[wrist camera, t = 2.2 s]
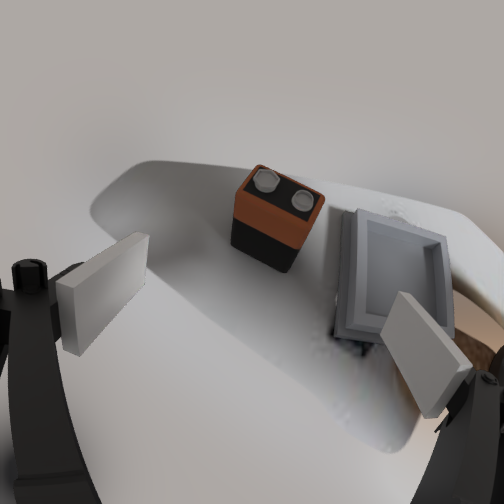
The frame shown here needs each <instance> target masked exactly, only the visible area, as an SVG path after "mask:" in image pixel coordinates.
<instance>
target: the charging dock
mask: <svg viewBox="0 0 504 504" xmlns="http://www.w3.org/2000/svg"><path fill="white" fill-rule="evenodd" d="M398 291H401V292H406V293H410V294H411V295H412V296H413V297H414V298H415V299H416V301H417V302H418V303H419V304H420V305H421V306H422V307H423V308H424V309H425V310H426V311H427V312H428V314H429V315H430V316H431V317H432V318H433V319H434V320H435V321H436V322H437V324H438V325H439V326H440V327H441V328H442V329H443V330H444V331H445V333H446V334H447V335H448V336H449V337H450V338H451V340H452V339H454V338H455V329H454V304H453V290H452V279H451V269H450V261H449V253H448V246H447V240H446V236H443V235H440V234H437V233H434V232H431V231H428V230H425V229H422V228H419V227H416V226H413V225H410V224H407V223H404V222H401V221H398V220H395V219H391V218H388V217H385V216H382V215H378V214H375V213H372V212H368V211H365V210H361V209H358V208H357V210H356V211H355V213H351V212H347V211H345V212H344V213H343V215H342V235H341V255H340V271H339V285H338V297H337V308H336V318H335V327H334V336H333V337H338V338H344V339H351V340H357V341H364V342H371V343H378V344H385V343H384V341H383V339H382V338H381V336H380V333H381V331H382V329H383V327H384V324H385V322H386V320H387V318H388V315H389V313H390V311H391V308H392V306H393V303H394V301H395V299H396V296H397V294H398Z"/></svg>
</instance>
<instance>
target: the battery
mask: <svg viewBox="0 0 504 504" xmlns="http://www.w3.org/2000/svg"><path fill="white" fill-rule="evenodd" d="M324 202H325V197H324V195H322V194H321V193H319V192H317V191H315V190H313V189H311V188H309V187H307V186H305V185H303V184H301V183H299V182H297V181H295V180H293V179H291V178H289V177H287V176H285V175H282V174H280V173H278V172H276V171H274V170H272V169H269V168H268V167H265V166H263V165H257V166H256V167H255V168H254V169H253V171H252V172H251V173H250V175H249V176H248V177H247V178H246V180H245V181H244V182H243V184H242V185H241V186H240V188H239V189H238V190H237V192H236V195H235V204H234V214H233V223H232V232H231V245H232V246H233V247H235V248H237V249H239V250H240V251H242V252H244V253H246V254H248V255H250V256H252V257H254V258H256V259H257V260H259V261H261V262H263V263H265V264H267V265H269V266H271V267H273V268H275V269H276V270H278V271H280V272H283V273H286V272H288V270H289V269H290V267H291V265H292V263H293V262H294V260H295V258H296V256H297V254H298V253H299V251H300V249H301V247H302V245H303V243H304V242H305V240H306V238H307V236H308V234H309V232H310V230H311V229H312V227H313V224H314V222H315V220H316V218H317V216H318V214H319V212H320V210H321V208H322V206H323V204H324Z"/></svg>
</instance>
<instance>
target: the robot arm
mask: <svg viewBox="0 0 504 504" xmlns="http://www.w3.org/2000/svg"><path fill="white" fill-rule="evenodd" d="M148 243H149V235H148V234H144V233H139V232H134V233H133V234H131V235H129V236H127V237H126V238H124V239H122V240H121V241H119V242H117V243H116V244H114V245H112V246H111V247H109V248H107V249H106V250H104V251H103V252H101V253H99V254H98V255H96V256H94V257H93V258H91V259H90V260H88V261H86V262H81V263H77V264H73V265H71V266H70V267H68V268H67V269H66V270H63V271H62V272H60V273H59V274H57V275H55V276H54V277H52V278H51V279H49V280H48V277H47V265H46V263H45V262H43V261H41V260H38V259H24V260H21V261H18V262H16V263H14V264H13V266H12V276H13V285H14V291H13V290H7V289H2V286H1V279H0V377H1V374H2V370H3V367H4V364H5V361H6V358H7V355H8V396H9V412H10V423H11V432H12V440H13V447H14V453H15V459H16V464H17V469H18V479H16V480H14V484H13V489H14V494H15V499H16V503H17V504H102V503H101V500H100V498H99V496H98V493H97V491H96V489H95V487H94V484H93V482H92V479H91V477H90V474H89V472H88V469H87V466H86V464H85V461H84V458H83V455H82V452H81V450H80V447H79V444H78V440H77V437H76V434H75V431H74V427H73V424H72V420H71V417H70V413H69V409H68V405H67V401H66V397H65V393H64V388H63V384H62V379H61V373H60V368H59V363H58V356H57V350H56V345H55V342H56V341H57V340H58V339H59V338H60V337H61V339H62V345H63V350H65V351H68V352H70V353H72V354H74V355H77V356H79V357H80V356H81V355H82V354H83V353H84V351H85V350H86V349H87V348H88V347H89V345H90V344H91V343H92V342H93V341H94V340H95V339H96V338H97V336H98V335H99V334H100V333H101V332H102V331H103V330H104V328H105V327H106V326H107V325H108V324H109V323H110V322H111V320H112V319H113V318H114V317H115V316H116V315H117V314H118V313H119V312H120V311H121V309H122V308H123V307H124V306H125V305H126V304H127V303H128V302H129V301H130V300H131V299H132V298H133V296H134V295H135V294H136V293H137V292H138V291H139V290H140V289H141V288H142V287H143V286H144V284H145V272H146V262H147V252H148ZM380 336H381V338H382V339H383V341H384V343H385V345H386V346H387V348H388V350H389V352H390V354H391V355H392V357H393V359H394V361H395V363H396V365H397V366H398V368H399V370H400V372H401V374H402V376H403V378H404V380H405V381H406V383H407V385H408V387H409V389H410V391H411V393H412V395H413V397H414V399H415V401H416V403H417V405H418V407H419V409H420V411H421V413H422V415H423V417H424V418H425V419H427V418H438V416H439V415H440V414H441V413H442V411H443V410H444V409H445V407H446V408H447V410H448V411H449V413H448V415H447V416H446V417H445V418H444V420H443V421H442V422H441V424H440V425H439V426H438V427H437V429H436V430H435V431H434V432H435V433H436V432H437V431H438V430H440V433H439V436H438V439H437V442H436V445H435V447H434V450H433V453H432V456H431V458H430V461H429V463H428V466H427V468H426V471H425V473H424V475H423V477H422V480H421V482H420V484H419V486H418V489H417V491H416V493H415V495H414V497H413V499H412V501H411V503H410V504H504V345H503V346H502V347H501V348H500V349H499V351H498V352H497V354H496V355H495V357H494V359H493V362H492V364H491V367H490V370H489V372H487V371H484V370H478V371H476V370H475V369H474V368H473V365H472V363H471V362H470V361H469V360H468V359H467V357H466V356H465V355H464V354H463V353H462V351H461V350H460V349H459V348H458V347H457V345H456V344H455V343H454V342H453V341H452V340H451V338H450V337H449V336H448V335H447V334H446V333H445V331H444V330H443V329H442V328H441V327H440V326H439V325H438V324H437V322H436V321H435V320H434V319H433V318H432V317H431V316H430V315H429V314H428V312H427V311H426V310H425V309H424V308H423V307H422V306H421V305H420V304H419V303H418V302H417V301H416V299H415V298H414V297H413V296H412V295H411V294H410V293H406V292H401V291H398V294H397V296H396V299H395V301H394V303H393V306H392V308H391V311H390V313H389V315H388V318H387V320H386V322H385V324H384V327H383V329H382V331H381V333H380Z"/></svg>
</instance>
